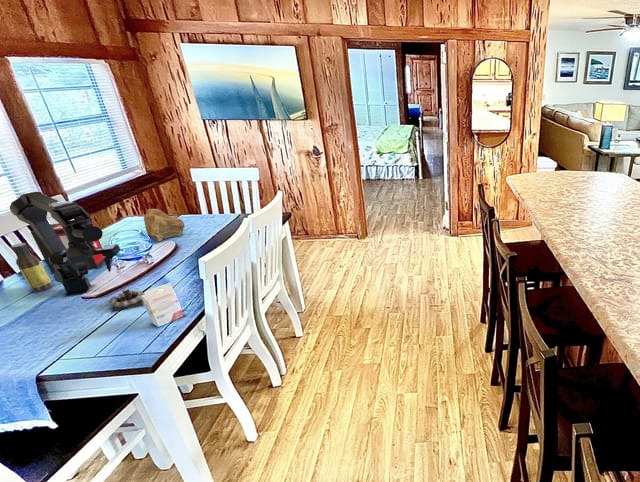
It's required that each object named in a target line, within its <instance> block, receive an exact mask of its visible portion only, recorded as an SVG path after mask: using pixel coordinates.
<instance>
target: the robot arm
mask: <svg viewBox="0 0 640 482" xmlns="http://www.w3.org/2000/svg"><path fill="white" fill-rule="evenodd" d="M9 211H10V213H11V214H12V215H13V216H16V218H17V220H19V221H21V222H23V223H25V224H26V225H27V224H28V225H29V226H30V227H31V229H32V231H35V233H36V234H37V235H38V237H39V238H40V240H41V241H42V242H43V244H44V245H45V247H46V248H47V249H48V251H49V252H50V254H51V256H50V257H49V262H50V264H53V267H54V269H55V272H54V273H53V276H52V277H53V279H54V280H55V282H57V283H61V284H62V286H63V288H64V290H65V292H66V293H65V296H67V297H68V296H74V295H79V294H80V295H81V294H84V293H85V294H86V293H88V292H89V290H90V289H91V287H92V286H93V285H92V284H91V282H90V280H89V278H88V277H87V276H86V275H89V270H88V268H87V265H86V263H84V262H86V261H87V260H88V258H89V257H92V256H94V255H97V254H102V256H104V257H103V259H104V260H105V263H104V264H105V266H106V269H107V271H108V272H109V273H110V272H111V271H112V265H113V264H112V263H113V258H115V256H118V254H119V253H120V251H121V247H120V245H118V244H117V243H112V244H106V245H105V244H104V246H102V249H96V250H95V248H96V247H95V245H93V244H92V242H95V241H98V240H99V241H100V240H101V239H102V238H103V235H104V232H103V230H102V229H101V228H100V227H98V226H96V225H93V224H92V221H93V219H92V217H91V214H89V212H88V211H87V210H86V209H85V208H83V207H82V206H81V204H78V203H77V202H74V201H69V200H66V201H61V200H58V199H56V198H53V197H51V196H48V195H45V194H44V193H42V192H41V191H39V190H38V191H37V190H34V191H29V192H25V193H22V194H20V195H19V197H18V198H17V199H15V200H13V201H11V203H10V205H9ZM48 213H49V214H50V217H51V219H53V220H55V221H56V223H57V224H59V225H62V228H63V230H64V232H65V235H66V237H67V239H68V241H69V242H68V246H69V250H67V249H66V247H65V246H64V244H63V243H62V241H61V240H60V239H59V237H58V236H57V234H56V233H55V231H54V230H53V229H52V227H51V226H50V224H51V223H49V221H48V220H47V217H48ZM87 221H91V223H88V222H87Z"/></svg>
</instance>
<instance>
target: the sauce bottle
mask: <svg viewBox="0 0 640 482" xmlns="http://www.w3.org/2000/svg"><path fill="white" fill-rule="evenodd" d="M10 248H11V249H12V251H13V252H14V254H15V256H16V257H17V258H16V260H15V264H16V265H17V267H18V269H19V271H20V273H21V275H22V276H23V278H24V280H25V281H26V283H27V285H28V286H29V288H30V289H31V291H32V292H42V291H45V290H47V289H50V288H52V286H53V282H52V280H51V278H50V276H49V274H48V273H47V271H46V269H45V268H44V266H43V264H42V262H41V260H40V259H39V258H38V257H37V256H36V255H33V254H32V253H31V252H30V249H29V248H28V245H27V243H25V242H19V243H16V244H13V245H11V246H10Z"/></svg>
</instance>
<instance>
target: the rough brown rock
mask: <svg viewBox="0 0 640 482" xmlns="http://www.w3.org/2000/svg"><path fill="white" fill-rule="evenodd" d="M143 222H144V226H145V231H146V234H147V235H148V236H149V237H150V238H151V239H153V240H154V241H156V242H161V241H163V240H166V239H170V238H172V237H181V236H182V235H183V231H184V229H185V226H186V225H185V223H184V220H182V219H180V218H178V217H172V216H170V215H169V214H168V213H165V211H162V210H161V209H158V208H148V209H147V210H146V214H145V215H144V216H143ZM147 235H146V236H147ZM148 236H147V237H148ZM149 237H148V238H149Z"/></svg>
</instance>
